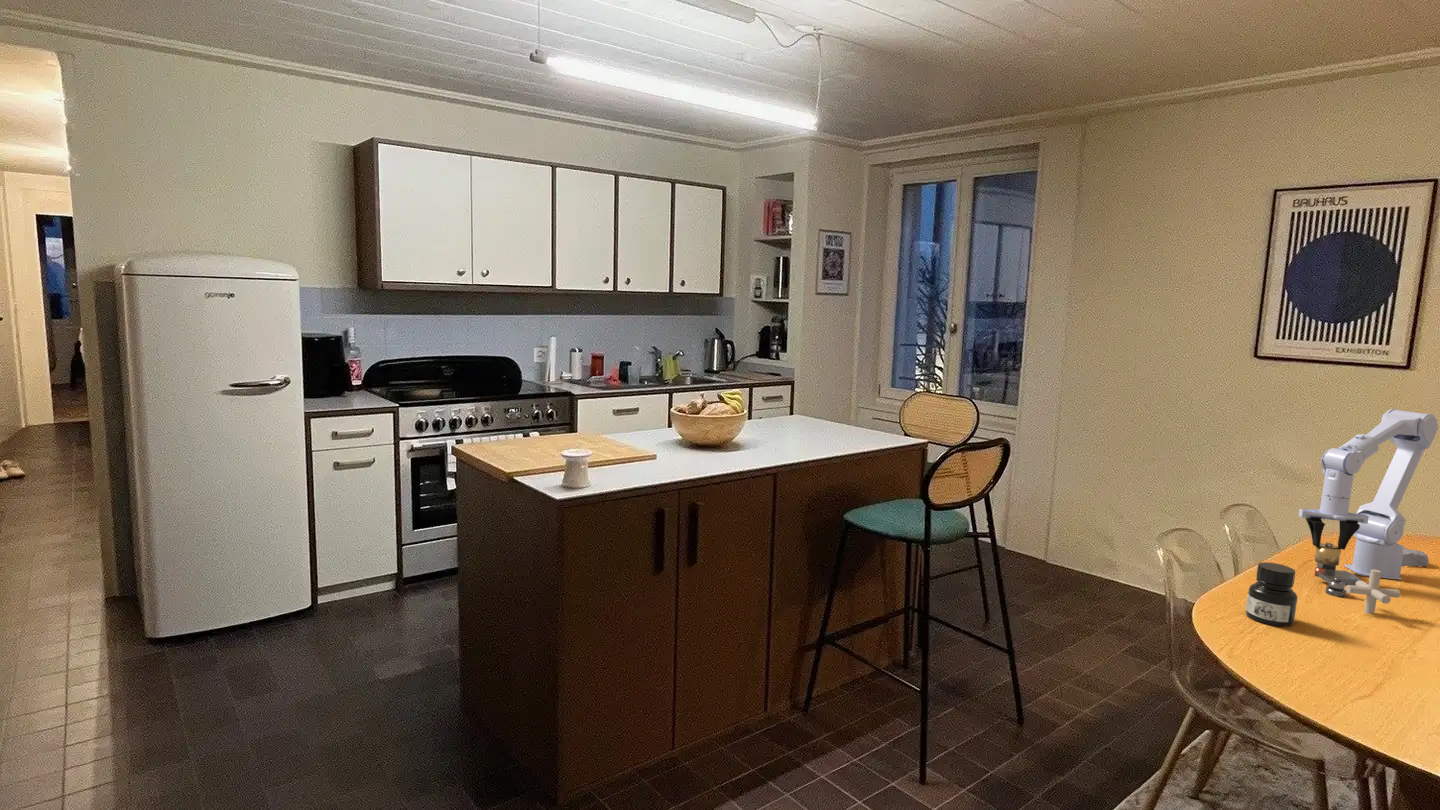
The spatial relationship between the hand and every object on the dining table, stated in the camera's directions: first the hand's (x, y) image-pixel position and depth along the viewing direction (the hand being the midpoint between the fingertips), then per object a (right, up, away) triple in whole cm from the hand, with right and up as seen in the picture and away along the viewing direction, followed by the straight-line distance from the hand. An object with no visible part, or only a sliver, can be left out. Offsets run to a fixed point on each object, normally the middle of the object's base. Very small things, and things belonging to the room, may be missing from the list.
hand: (1328, 547), depth 204 cm
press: (+3, -8, +2) cm, 9 cm away
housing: (0, -4, 0) cm, 4 cm away
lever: (-5, -8, -7) cm, 11 cm away
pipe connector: (-7, -11, -21) cm, 25 cm away
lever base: (-6, -10, -10) cm, 16 cm away
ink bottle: (-35, -11, -28) cm, 46 cm away
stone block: (+33, -7, +19) cm, 39 cm away
